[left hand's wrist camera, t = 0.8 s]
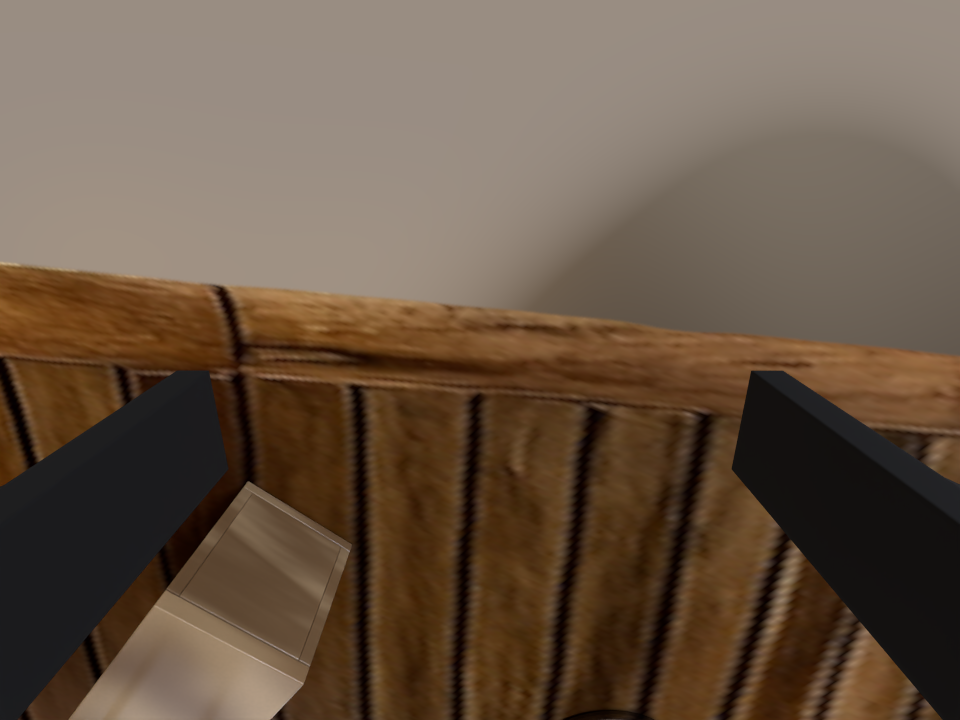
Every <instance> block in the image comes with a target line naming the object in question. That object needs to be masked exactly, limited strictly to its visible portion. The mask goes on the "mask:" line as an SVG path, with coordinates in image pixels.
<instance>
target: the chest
mask: <svg viewBox="0 0 960 720" xmlns="http://www.w3.org/2000/svg"><path fill="white" fill-rule="evenodd" d="M351 546H352V544H350V543H349V542H347V541H345V540H344V539H342V538H340V537H339V536H337V535H336V534H334V533H332V532H331V531H329V530H327V529H326V528H324V527H322V526H321V525H319V524H318V523H316V522H314V521H313V520H311V519H309V518H308V517H306V516H304V515H303V514H301V513H300V512H298V511H296V510H295V509H293V508H291V507H290V506H288V505H286V504H285V503H283V502H281V501H280V500H278V499H277V498H275V497H273V496H272V495H270V494H268V493H267V492H265V491H263V490H262V489H260V488H259V487H257V486H255V485H254V484H252V483H250V482H249V481H248V482H247V483H246V484H245V486H244V487H243V488H242V490H241V491H240V492H239V494H238V495H237V496H236V498H235V499H234V500H233V502H232V503H231V504H230V506H229V507H228V508H227V509H226V511H225V512H224V513H223V515H222V516H221V517H220V519H219V520H218V521H217V523H216V524H215V525H214V527H213V528H212V529H211V531H210V532H209V533H208V535H207V536H206V537H205V539H204V540H203V541H202V542H201V544H200V545H199V546H198V548H197V549H196V550H195V552H194V553H193V554H192V556H191V557H190V558H189V560H188V561H187V562H186V564H185V565H184V566H183V568H182V569H181V570H180V572H179V573H178V574H177V575H176V577H175V578H174V579H173V581H172V582H171V583H170V585H169V586H168V587H167V589H166V590H165V591H169V592H171V593H172V594H174V595H176V596H178V597H180V598H182V599H184V600H185V601H187V602H189V603H191V604H193V605H195V606H197V607H198V608H200V609H202V610H204V611H206V612H208V613H210V614H211V615H213V616H215V617H217V618H219V619H221V620H223V621H224V622H226V623H228V624H230V625H232V626H234V627H236V628H237V629H239V630H241V631H243V632H245V633H247V634H249V635H250V636H252V637H254V638H256V639H258V640H260V641H262V642H263V643H265V644H267V645H269V646H271V647H273V648H275V649H276V650H278V651H280V652H282V653H284V654H286V655H288V656H290V657H291V658H293V659H295V660H297V661H299V662H301V663H303V664H304V665H306V666H308V667H309V666H310V665H311V662H312V659H313V656H314V653H315V650H316V647H317V645H318V642H319V639H320V636H321V633H322V630H323V627H324V624H325V621H326V619H327V616H328V613H329V610H330V607H331V604H332V601H333V598H334V595H335V593H336V590H337V587H338V584H339V581H340V578H341V575H342V572H343V570H344V567H345V564H346V561H347V558H348V555H349V552H350V549H351Z"/></svg>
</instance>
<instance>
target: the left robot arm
mask: <svg viewBox="0 0 960 720" xmlns="http://www.w3.org/2000/svg"><path fill="white" fill-rule="evenodd" d="M227 470H228V465H227V460H226V455H225V450H224V445H223V440H222V435H221V430H220V425H219V420H218V415H217V410H216V405H215V400H214V395H213V390H212V385H211V380H210V375H209V371H176V372H174V373H173V374H171V375H170V376H168V377H167V378H165V379H164V380H162V381H161V382H159V383H158V384H156V385H155V386H153V387H152V388H150V389H149V390H147V391H146V392H144V393H143V394H141V395H140V396H138V397H137V398H135V399H134V400H132V401H131V402H129V403H128V404H126V405H125V406H123V407H122V408H120V409H119V410H117V411H116V412H114V413H113V414H111V415H109V416H108V417H106V418H105V419H103V420H102V421H100V422H99V423H97V424H96V425H94V426H93V427H91V428H90V429H88V430H87V431H85V432H84V433H82V434H81V435H79V436H78V437H76V438H75V439H73V440H72V441H70V442H69V443H67V444H66V445H64V446H63V447H61V448H60V449H58V450H57V451H55V452H54V453H52V454H51V455H49V456H48V457H46V458H44V459H43V460H41V461H40V462H38V463H37V464H35V465H34V466H32V467H31V468H29V469H28V470H26V471H25V472H23V473H22V474H20V475H19V476H17V477H16V478H14V479H13V480H11V481H10V482H8V483H7V484H5V485H3V486H1V487H0V720H17V719H18V718H19V717H20V716H21V715H22V713H23V712H24V711H25V710H26V709H27V707H28V706H29V705H30V704H31V703H32V702H33V700H34V699H35V698H36V697H37V696H38V694H39V693H40V692H41V691H42V690H43V688H44V687H45V686H46V685H47V684H48V683H49V681H50V680H51V679H52V678H53V677H54V675H55V674H56V673H57V672H58V671H59V670H60V668H61V667H62V666H63V665H64V664H65V662H66V661H67V660H68V659H69V658H70V656H71V655H72V654H73V653H74V652H75V651H76V649H77V648H78V647H79V646H80V645H81V643H82V642H83V641H84V640H85V639H86V637H87V636H88V635H89V634H90V633H91V632H92V630H93V629H94V628H95V627H96V626H97V624H98V623H99V622H100V621H101V620H102V618H103V617H104V616H105V615H106V614H107V613H108V611H109V610H110V609H111V608H112V607H113V605H114V604H115V603H116V602H117V601H118V599H119V598H120V597H121V596H122V595H123V594H124V592H125V591H126V590H127V589H128V588H129V586H130V585H131V584H132V583H133V582H134V580H135V579H136V578H137V577H138V576H139V575H140V573H141V572H142V571H143V570H144V569H145V567H146V566H147V565H148V564H149V563H150V561H151V560H152V559H153V558H154V557H155V556H156V554H157V553H158V552H159V551H160V550H161V548H162V547H163V546H164V545H165V544H166V542H167V541H168V540H169V539H170V538H171V537H172V535H173V534H174V533H175V532H176V531H177V529H178V528H179V527H180V526H181V525H182V524H183V522H184V521H185V520H186V519H187V518H188V516H189V515H190V514H191V513H192V512H193V510H194V509H195V508H196V507H197V506H198V505H199V503H200V502H201V501H202V500H203V499H204V497H205V496H206V495H207V494H208V493H209V491H210V490H211V489H212V488H213V487H214V486H215V484H216V483H217V482H218V481H219V480H220V478H221V477H222V476H223V475H224V474H225V472H226V471H227ZM732 470H733V471H734V472H735V474H736V475H737V476H738V477H739V478H740V480H741V481H742V482H743V483H744V484H745V486H746V487H747V488H748V489H749V490H750V491H751V493H752V494H753V495H754V496H755V497H756V499H757V500H758V501H759V502H760V503H761V505H762V506H763V507H764V508H765V509H766V510H767V512H768V513H769V514H770V515H771V516H772V518H773V519H774V520H775V521H776V522H777V524H778V525H779V526H780V527H781V528H782V529H783V531H784V532H785V533H786V534H787V535H788V537H789V538H790V539H791V540H792V541H793V542H794V544H795V545H796V546H797V547H798V548H799V550H800V551H801V552H802V553H803V554H804V556H805V557H806V558H807V559H808V560H809V561H810V563H811V564H812V565H813V566H814V567H815V569H816V570H817V571H818V572H819V573H820V575H821V576H822V577H823V578H824V579H825V580H826V582H827V583H828V584H829V585H830V586H831V588H832V589H833V590H834V591H835V592H836V594H837V595H838V596H839V597H840V598H841V599H842V601H843V602H844V603H845V604H846V605H847V607H848V608H849V609H850V610H851V611H852V613H853V614H854V615H855V616H856V617H857V618H858V620H859V621H860V622H861V623H862V624H863V626H864V627H865V628H866V629H867V630H868V632H869V633H870V634H871V635H872V636H873V637H874V639H875V640H876V641H877V642H878V643H879V645H880V646H881V647H882V648H883V649H884V651H885V652H886V653H887V654H888V655H889V656H890V658H891V659H892V660H893V661H894V662H895V664H896V665H897V666H898V667H899V668H900V670H901V671H902V672H903V673H904V674H905V675H906V677H907V678H908V679H909V680H910V681H911V683H912V684H913V685H914V686H915V687H916V688H917V690H918V691H919V692H920V693H921V694H922V696H923V697H924V698H925V699H926V700H927V702H928V703H929V704H930V705H931V706H932V707H933V709H934V710H935V711H936V712H937V713H938V715H939V716H940V717H941V718H942V719H943V720H960V484H958V483H955V482H953V481H951V480H949V479H946V478H944V477H943V476H941V475H940V474H938V473H937V472H935V471H934V470H932V469H931V468H929V467H928V466H926V465H925V464H923V463H922V462H920V461H919V460H917V459H916V458H914V457H912V456H911V455H909V454H908V453H906V452H905V451H903V450H902V449H900V448H899V447H897V446H896V445H894V444H893V443H891V442H890V441H888V440H887V439H885V438H884V437H882V436H881V435H879V434H878V433H876V432H875V431H873V430H872V429H870V428H869V427H867V426H866V425H864V424H863V423H861V422H860V421H858V420H857V419H855V418H854V417H852V416H851V415H849V414H847V413H846V412H844V411H843V410H841V409H840V408H838V407H837V406H835V405H834V404H832V403H831V402H829V401H828V400H826V399H825V398H823V397H822V396H820V395H819V394H817V393H816V392H814V391H813V390H811V389H810V388H808V387H807V386H805V385H804V384H802V383H801V382H799V381H798V380H796V379H795V378H793V377H792V376H790V375H789V374H787V373H786V372H784V371H751V375H750V380H749V385H748V390H747V395H746V400H745V405H744V410H743V415H742V420H741V425H740V430H739V435H738V440H737V445H736V450H735V455H734V460H733V465H732ZM568 720H654V719H651V718H649V717H646V716H644V715H640V714H636V713H631V712H624V711H599V712H592V713H587V714H583V715H580V716H576V717H573V718H571V719H568Z"/></svg>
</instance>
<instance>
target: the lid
mask: <svg viewBox="0 0 960 720" xmlns="http://www.w3.org/2000/svg"><path fill="white" fill-rule="evenodd" d="M308 670H309V667H308V666H306V665H304V664H303V663H301V662H299V661H297V660H295V659H293V658H291V657H290V656H288V655H286V654H284V653H282V652H280V651H278V650H276V649H275V648H273V647H271V646H269V645H267V644H265V643H263V642H262V641H260V640H258V639H256V638H254V637H252V636H250V635H249V634H247V633H245V632H243V631H241V630H239V629H237V628H236V627H234V626H232V625H230V624H228V623H226V622H224V621H223V620H221V619H219V618H217V617H215V616H213V615H211V614H210V613H208V612H206V611H204V610H202V609H200V608H198V607H197V606H195V605H193V604H191V603H189V602H187V601H185V600H184V599H182V598H180V597H178V596H176V595H174V594H172V593H171V592H169V591H164V593H163V594H162V595H161V597H160V598H159V599H158V601H157V602H156V603H155V605H154V606H153V607H152V609H151V610H150V611H149V613H148V614H147V615H146V617H145V618H144V619H143V621H142V622H141V623H140V625H139V626H138V627H137V629H136V630H135V631H134V633H133V634H132V635H131V637H130V638H129V639H128V641H127V642H126V643H125V645H124V646H123V647H122V649H121V650H120V651H119V653H118V654H117V655H116V657H115V658H114V659H113V661H112V662H111V663H110V665H109V666H108V667H107V669H106V670H105V671H104V673H103V674H102V675H101V677H100V678H99V679H98V681H97V682H96V683H95V685H94V686H93V687H92V689H91V690H90V691H89V693H88V694H87V695H86V697H85V698H84V699H83V701H82V702H81V703H80V705H79V706H78V707H77V709H76V710H75V711H74V713H73V714H72V715H71V717H70V718H69V719H68V720H270V719H271V718H272V717H273V716H274V715H275V714H276V713H277V712H278V711H279V710H280V709H281V708H282V707H283V706H284V705H285V703H286V702H287V701H288V700H289V699H290V698H291V697H292V696H293V695H294V694H295V693H296V692H297V691H298V690H299V689H300V688H301V687H302V685H303V684H304V682H305V679H306V676H307V673H308Z"/></svg>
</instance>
